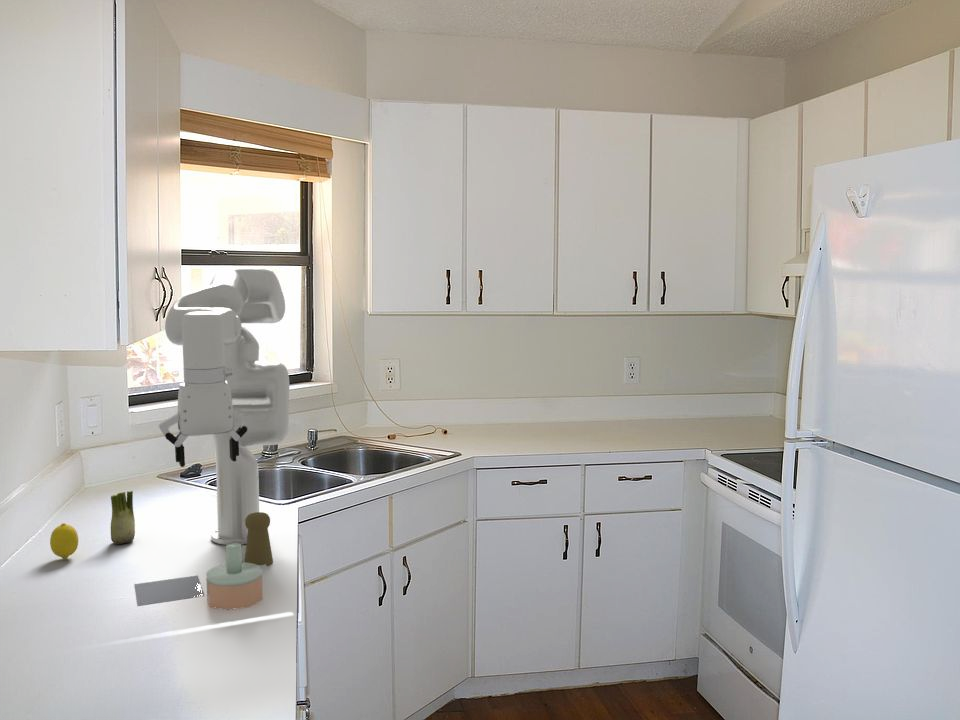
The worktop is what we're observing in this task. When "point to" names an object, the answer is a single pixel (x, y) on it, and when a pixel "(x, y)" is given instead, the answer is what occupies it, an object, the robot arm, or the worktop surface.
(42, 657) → the worktop surface
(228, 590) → the bowl
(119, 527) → the fennel bulb
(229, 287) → the robot arm
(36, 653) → the worktop surface
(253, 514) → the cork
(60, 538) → the lemon
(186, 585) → the mat
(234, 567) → the lid
